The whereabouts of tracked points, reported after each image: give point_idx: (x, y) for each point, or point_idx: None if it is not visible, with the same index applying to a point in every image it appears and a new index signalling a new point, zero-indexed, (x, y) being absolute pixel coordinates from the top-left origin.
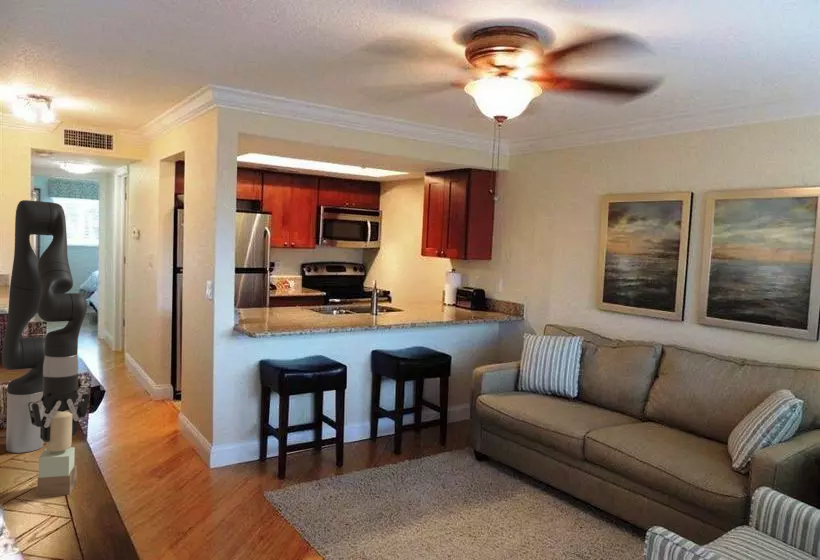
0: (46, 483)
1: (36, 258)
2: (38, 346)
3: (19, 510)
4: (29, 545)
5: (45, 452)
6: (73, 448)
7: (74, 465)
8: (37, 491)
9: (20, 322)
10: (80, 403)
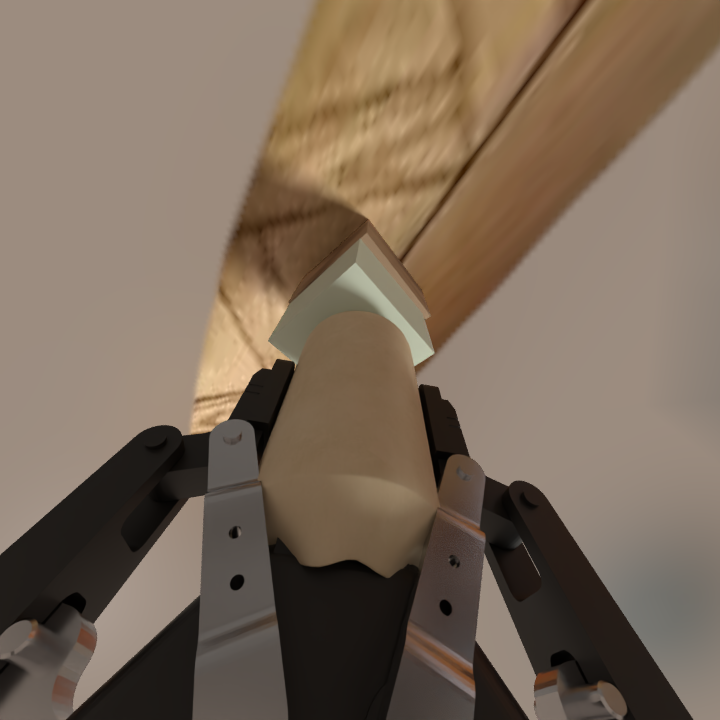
0: None
1: None
2: None
3: (235, 311)
4: (197, 431)
5: (321, 308)
6: (417, 362)
7: (425, 312)
8: (299, 284)
9: None
10: (555, 632)
